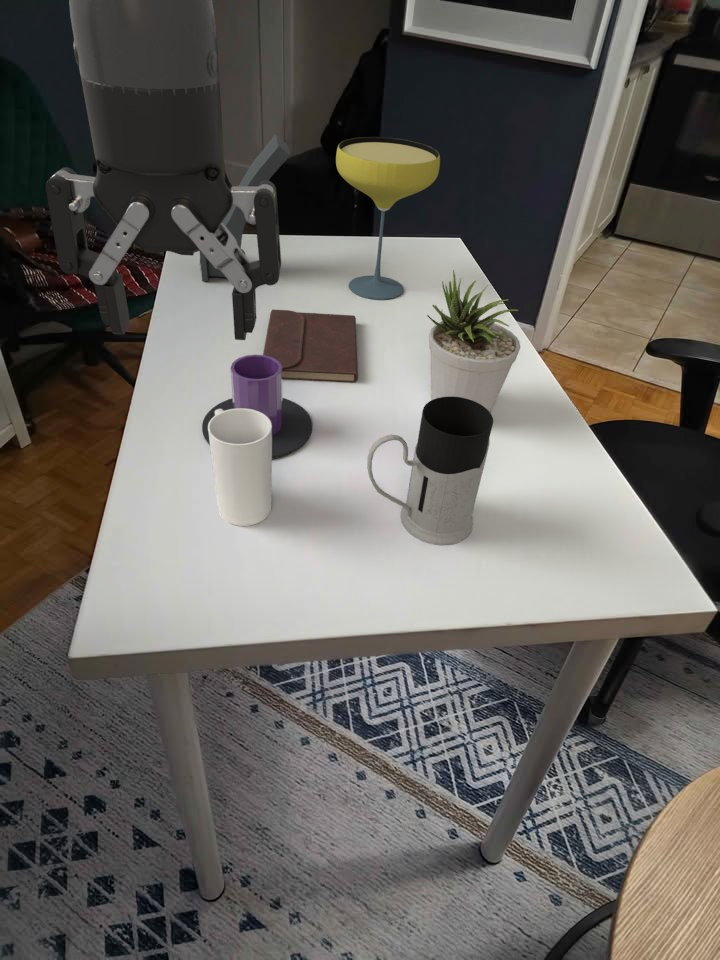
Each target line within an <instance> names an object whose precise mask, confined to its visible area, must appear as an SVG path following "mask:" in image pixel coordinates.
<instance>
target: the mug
mask: <svg viewBox="0 0 720 960" xmlns="http://www.w3.org/2000/svg"><path fill="white" fill-rule="evenodd" d="M208 432H209V442H210V445H209V449H210V457H211V464H212V471H213V472H212V473H213V481H214V488H215V489H214V490H215V496H216V504H217V511H218V514H219V516H220V517H221V519H222V520H223V521H225V522H227V523H228V524H230V525H233V526H239V527H249V526H253V525H257V524H260V523H261V522H263V521H264V520H265V519H267V518H268V516H269V515H270V513H271V511H272V494H273V493H272V492H273V480H272V479H273V459H272V424H271V421H270V419H269V418H268V417H267V416H266V415H264V414H263V413H261V412H259V411H256V410H252V409H245V408H236V409H229V410H225V411H223V410H222V409H217V410H215V416H214V417H213V418H212V419H211V420H210V422H209V424H208Z"/></svg>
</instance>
